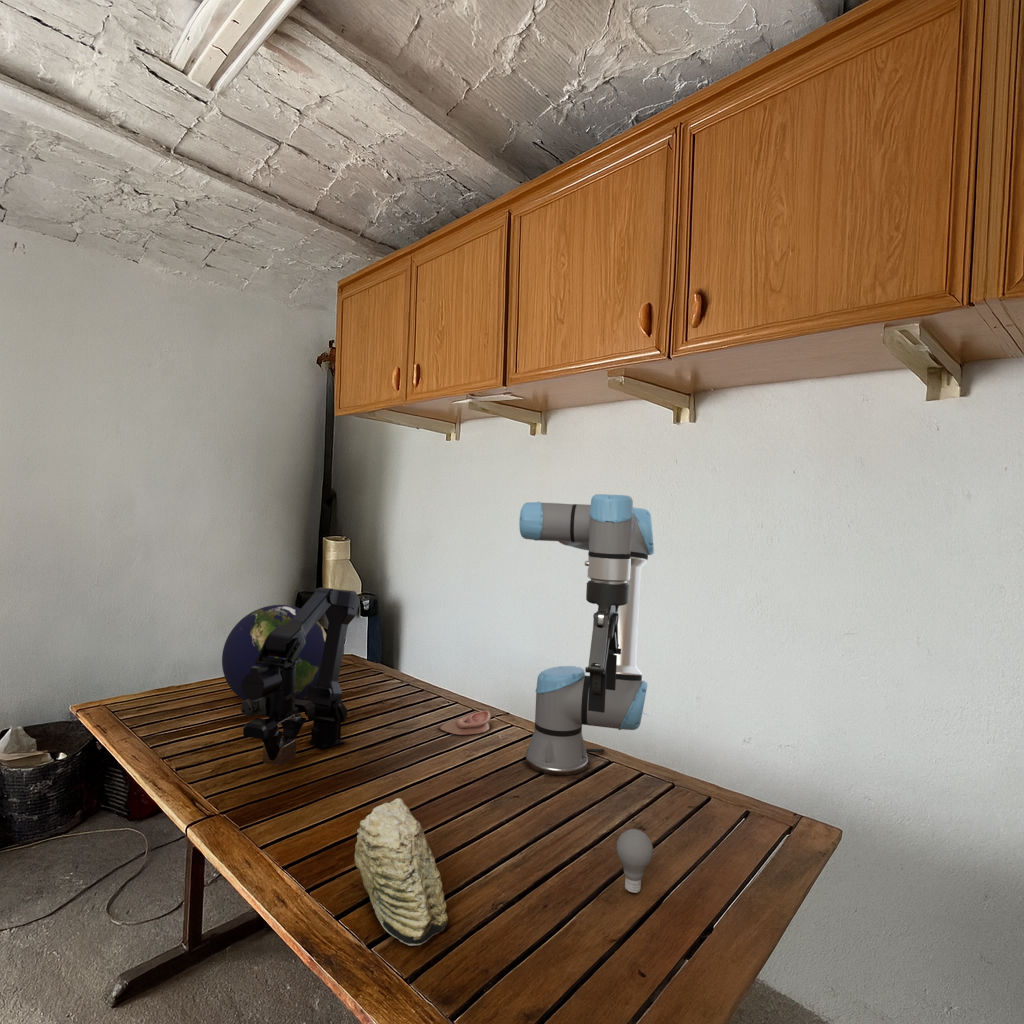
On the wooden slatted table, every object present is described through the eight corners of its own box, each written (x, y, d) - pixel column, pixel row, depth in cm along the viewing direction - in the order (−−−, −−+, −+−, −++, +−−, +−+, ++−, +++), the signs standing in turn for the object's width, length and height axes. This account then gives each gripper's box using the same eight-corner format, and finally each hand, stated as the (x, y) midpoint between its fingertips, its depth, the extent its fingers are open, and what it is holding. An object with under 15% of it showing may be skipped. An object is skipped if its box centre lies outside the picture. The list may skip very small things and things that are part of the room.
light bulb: (610, 879, 108) (613, 822, 108) (644, 879, 109) (647, 822, 109) (619, 902, 102) (622, 840, 102) (655, 901, 103) (658, 840, 103)
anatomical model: (436, 717, 173) (449, 704, 184) (436, 732, 173) (448, 718, 184) (483, 723, 170) (493, 709, 181) (483, 738, 170) (493, 723, 181)
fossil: (387, 871, 108) (391, 784, 108) (458, 926, 95) (462, 827, 95) (340, 893, 102) (344, 800, 101) (410, 955, 89) (414, 849, 88)
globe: (289, 685, 209) (292, 594, 208) (348, 705, 191) (352, 606, 191) (199, 706, 185) (203, 604, 184) (258, 732, 167) (262, 619, 167)
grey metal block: (276, 754, 147) (277, 736, 147) (295, 757, 145) (296, 739, 145) (262, 762, 142) (263, 743, 142) (282, 766, 141) (283, 747, 140)
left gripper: (277, 672, 155) (274, 736, 155) (223, 694, 137) (220, 766, 137) (317, 678, 152) (314, 742, 152) (267, 701, 134) (264, 774, 134)
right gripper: (598, 572, 126) (593, 678, 126) (573, 587, 102) (567, 718, 102) (636, 575, 124) (631, 683, 124) (620, 591, 100) (614, 725, 100)
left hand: (279, 755), depth 144 cm, fingers closed on grey metal block, 5 cm apart
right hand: (602, 699), depth 113 cm, fingers open, 13 cm apart
